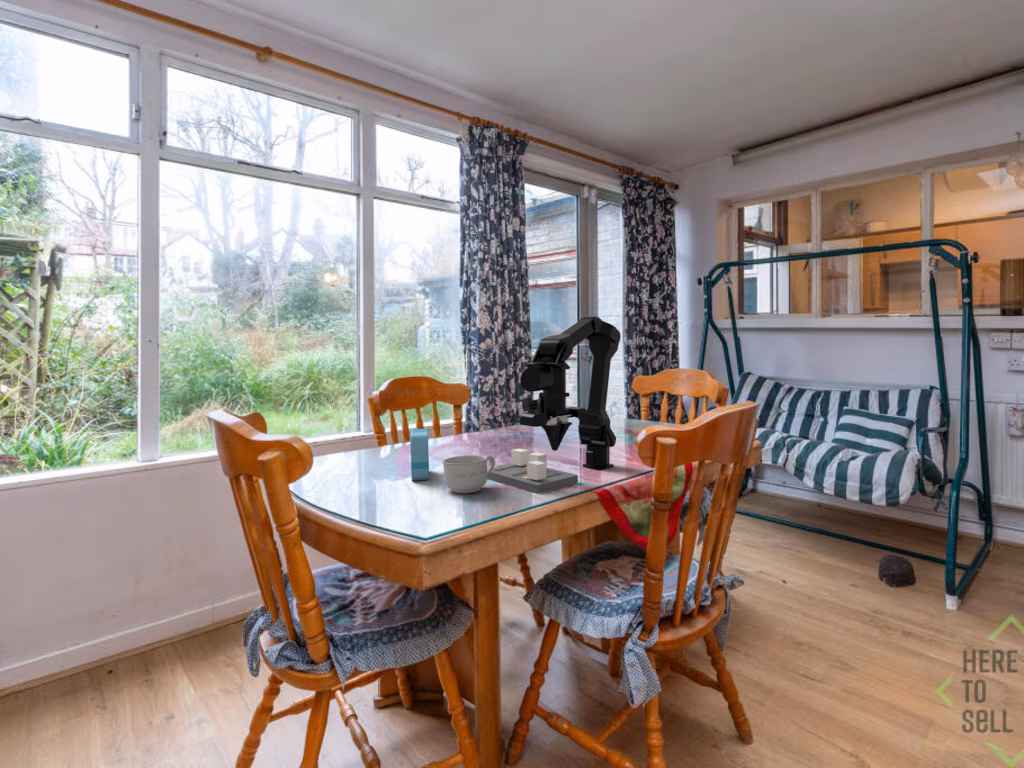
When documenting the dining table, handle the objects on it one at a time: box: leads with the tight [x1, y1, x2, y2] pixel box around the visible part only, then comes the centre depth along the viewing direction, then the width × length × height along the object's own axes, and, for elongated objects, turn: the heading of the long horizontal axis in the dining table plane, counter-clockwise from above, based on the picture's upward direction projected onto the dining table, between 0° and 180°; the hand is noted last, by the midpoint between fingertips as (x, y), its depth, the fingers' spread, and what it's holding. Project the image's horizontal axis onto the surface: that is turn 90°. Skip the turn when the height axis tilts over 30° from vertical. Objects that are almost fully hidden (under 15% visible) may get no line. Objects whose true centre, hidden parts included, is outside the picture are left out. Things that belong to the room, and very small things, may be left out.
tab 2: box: [527, 461, 546, 480], centre depth 142 cm, size 3×4×4 cm
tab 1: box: [510, 448, 529, 466], centre depth 157 cm, size 3×4×4 cm
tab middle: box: [528, 451, 548, 469], centre depth 152 cm, size 3×4×4 cm
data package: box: [409, 428, 430, 482], centre depth 155 cm, size 12×4×12 cm, turn 8°
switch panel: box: [487, 462, 579, 494], centre depth 150 cm, size 14×22×2 cm, turn 41°
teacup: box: [442, 454, 496, 494], centre depth 141 cm, size 14×11×8 cm
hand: (554, 450), depth 146 cm, fingers closed
